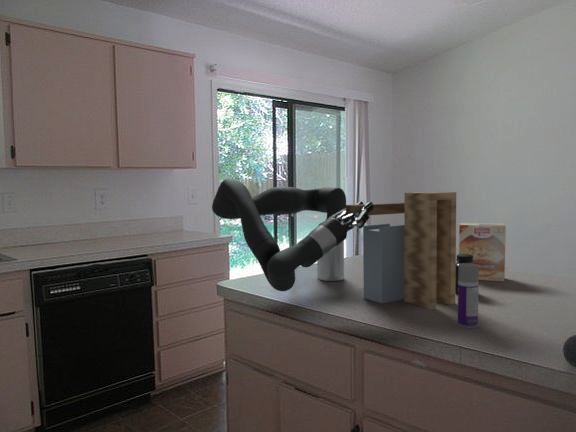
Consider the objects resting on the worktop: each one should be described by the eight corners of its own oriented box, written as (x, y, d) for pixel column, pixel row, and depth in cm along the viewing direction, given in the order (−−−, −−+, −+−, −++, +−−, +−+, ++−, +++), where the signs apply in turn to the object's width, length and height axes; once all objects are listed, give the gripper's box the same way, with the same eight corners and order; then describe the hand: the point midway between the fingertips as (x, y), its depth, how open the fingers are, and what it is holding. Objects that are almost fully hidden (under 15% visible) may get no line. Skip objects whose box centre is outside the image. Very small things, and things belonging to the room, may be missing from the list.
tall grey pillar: (363, 297, 139) (363, 225, 137) (387, 293, 144) (387, 223, 142) (381, 303, 132) (381, 227, 130) (406, 298, 137) (406, 225, 135)
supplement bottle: (475, 291, 144) (476, 253, 143) (477, 296, 137) (477, 257, 136) (452, 289, 146) (453, 253, 145) (453, 295, 140) (453, 256, 139)
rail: (345, 215, 130) (345, 204, 130) (406, 212, 142) (406, 202, 142) (353, 216, 127) (353, 205, 127) (414, 212, 139) (414, 202, 139)
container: (454, 322, 114) (454, 263, 113) (472, 321, 114) (473, 262, 113) (462, 328, 109) (463, 266, 108) (481, 327, 110) (482, 266, 108)
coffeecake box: (458, 279, 161) (458, 224, 160) (458, 275, 168) (459, 222, 166) (505, 281, 156) (506, 225, 154) (503, 277, 162) (504, 223, 161)
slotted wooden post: (404, 301, 134) (404, 192, 131) (428, 296, 139) (428, 191, 136) (431, 309, 125) (431, 193, 123) (455, 303, 130) (456, 192, 128)
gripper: (316, 245, 132) (356, 213, 139) (347, 251, 120) (389, 216, 127) (305, 224, 130) (347, 192, 137) (336, 228, 117) (379, 193, 124)
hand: (367, 204), depth 132 cm, fingers closed on rail, 3 cm apart
